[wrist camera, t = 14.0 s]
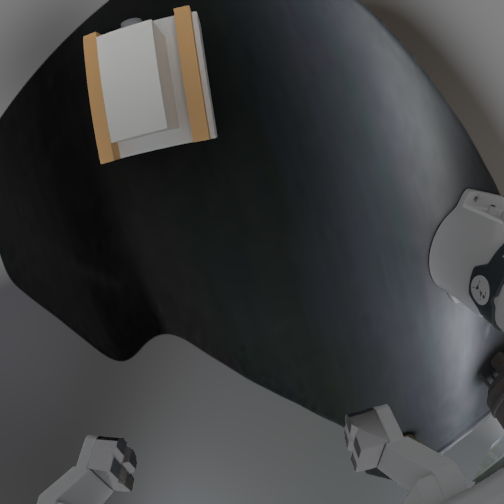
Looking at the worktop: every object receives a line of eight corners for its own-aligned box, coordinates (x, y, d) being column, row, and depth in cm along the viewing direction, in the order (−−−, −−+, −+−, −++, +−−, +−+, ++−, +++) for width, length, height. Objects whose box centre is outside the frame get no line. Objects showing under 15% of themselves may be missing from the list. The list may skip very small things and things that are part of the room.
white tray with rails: (200, 22, 27) (194, 4, 22) (217, 136, 33) (214, 138, 27) (100, 49, 27) (78, 38, 22) (116, 158, 33) (96, 165, 27)
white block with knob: (179, 128, 29) (167, 128, 23) (132, 139, 29) (111, 143, 23) (163, 24, 24) (149, 4, 19) (117, 37, 24) (95, 22, 19)
